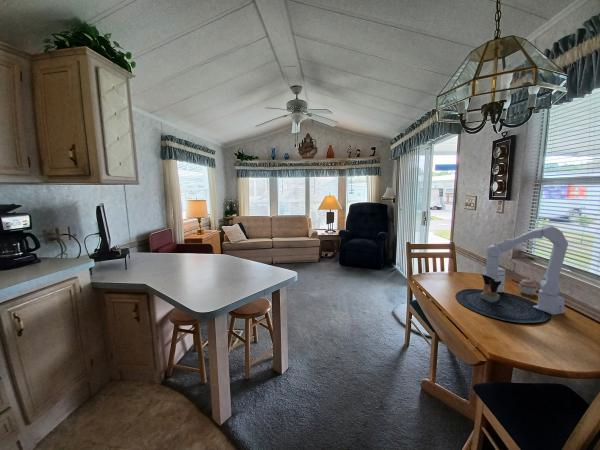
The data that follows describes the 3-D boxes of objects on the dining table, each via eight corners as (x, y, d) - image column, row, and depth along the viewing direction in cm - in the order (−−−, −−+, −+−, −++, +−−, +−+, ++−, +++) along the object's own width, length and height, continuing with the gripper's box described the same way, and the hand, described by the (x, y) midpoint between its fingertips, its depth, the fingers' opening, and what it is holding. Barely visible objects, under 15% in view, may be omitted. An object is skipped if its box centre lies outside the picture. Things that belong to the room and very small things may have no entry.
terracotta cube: (497, 295, 145) (497, 286, 145) (490, 295, 145) (490, 287, 144) (490, 292, 150) (490, 283, 149) (483, 292, 149) (484, 284, 148)
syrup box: (504, 292, 157) (506, 269, 155) (494, 292, 157) (496, 269, 155) (497, 288, 163) (499, 266, 161) (487, 288, 163) (489, 266, 161)
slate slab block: (499, 300, 146) (499, 295, 146) (492, 303, 143) (492, 297, 143) (486, 296, 152) (487, 291, 151) (480, 298, 149) (480, 293, 149)
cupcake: (513, 290, 159) (514, 275, 158) (528, 290, 159) (530, 275, 158) (525, 296, 150) (527, 280, 149) (542, 296, 150) (544, 280, 148)
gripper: (479, 262, 153) (477, 284, 155) (489, 269, 139) (487, 293, 141) (492, 263, 151) (490, 285, 153) (504, 270, 137) (502, 294, 139)
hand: (490, 289), depth 147 cm, fingers open, 7 cm apart
